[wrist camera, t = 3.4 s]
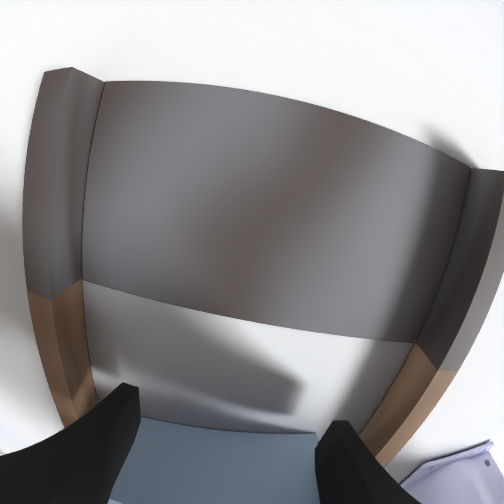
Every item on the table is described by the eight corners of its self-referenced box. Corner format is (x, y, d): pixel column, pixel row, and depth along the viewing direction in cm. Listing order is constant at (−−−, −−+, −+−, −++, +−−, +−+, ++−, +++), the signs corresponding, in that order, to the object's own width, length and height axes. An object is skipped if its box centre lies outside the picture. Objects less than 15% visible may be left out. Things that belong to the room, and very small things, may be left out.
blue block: (316, 433, 11) (330, 522, 6) (293, 484, 13) (298, 549, 8) (127, 413, 11) (91, 492, 6) (148, 469, 13) (129, 530, 8)
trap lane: (489, 178, 8) (524, 184, 6) (271, 538, 17) (271, 552, 15) (78, 84, 7) (44, 71, 5) (126, 513, 17) (122, 526, 15)
